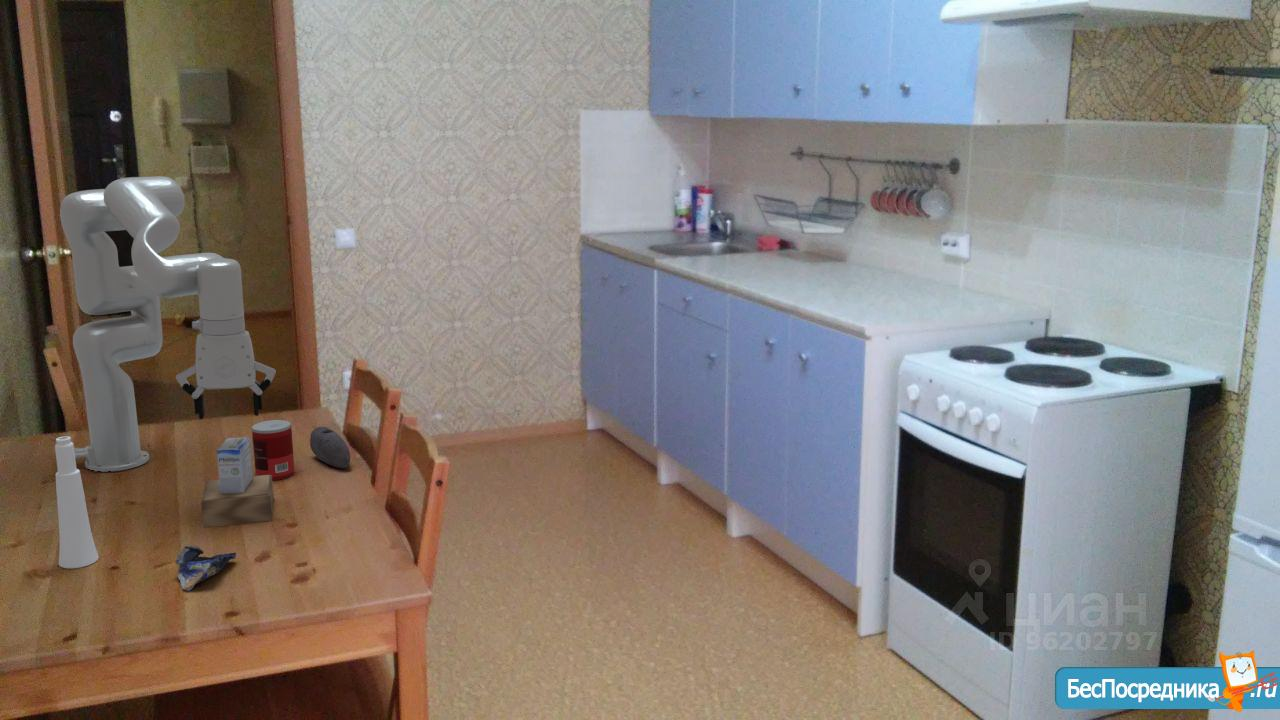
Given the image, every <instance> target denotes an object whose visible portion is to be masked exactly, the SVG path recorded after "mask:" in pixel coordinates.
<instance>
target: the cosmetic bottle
mask: <svg viewBox="0 0 1280 720" xmlns="http://www.w3.org/2000/svg"><path fill="white" fill-rule="evenodd" d="M55 442H56V444H55V445H54V450H55V458H56V467H57V472H55V487H56V488H55V489H56V501H57V513H58V514H57V517H58V530H59V531H58V532H59V553H58V554H59V555H58V556H59V558H58V565H59V567H60V568H63V569H69V570H70V569H71V570H72V569H81V568H85V567H87V566H90V565H93V564H95V563H97V561H98V560H99V554H98V551H97V547H96V545H95V541H94V538H93V534H92V533H93V532H92V529H91V525H90V524H91V523H90V519H89V514H88V509H87V508H88V507H87V504H86V496H85V491H84V486H83V479H82V475H81V470H80V469H79V468H77V461H76V459H75V452H74V448H75V446H74V445H75V444H74V442H72V437H71V436H59V437H56V438H55Z"/></svg>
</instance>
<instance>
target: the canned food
mask: <svg viewBox="0 0 1280 720" xmlns="http://www.w3.org/2000/svg"><path fill="white" fill-rule="evenodd" d="M292 430H293V429H292V423H291V422H290V421H288V420H284V419H283V420H282V419H272V420H264V421H261V422H257V423H255V424H253V425H252V426H251V436H252V437H251V439H252V446H253V460H254V468H255V476H262V475H272V482H273V481H279V480H284V479H287V478H289V476H290V477H291V476H293V475H294V471H295V459H294V445H293V433H292V432H293V431H292Z"/></svg>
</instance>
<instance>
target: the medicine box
mask: <svg viewBox="0 0 1280 720" xmlns="http://www.w3.org/2000/svg"><path fill="white" fill-rule="evenodd" d="M251 443H252V442H251V438H249V437H228V438H227V437H226V439H225V441H224V442H223V443H222V444H221V445H220V447H219V448H218V449H217V450H216V459H217V468H218V469H217V470H218V471H217V472H218V480H219V484H220V493H221V494H237V493H244V492H245V490H246V488H247V487H248V485H249V484H250V482H251V480H252V479H253V476H254V474H253V473H254V472H253V459H252V445H251Z"/></svg>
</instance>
